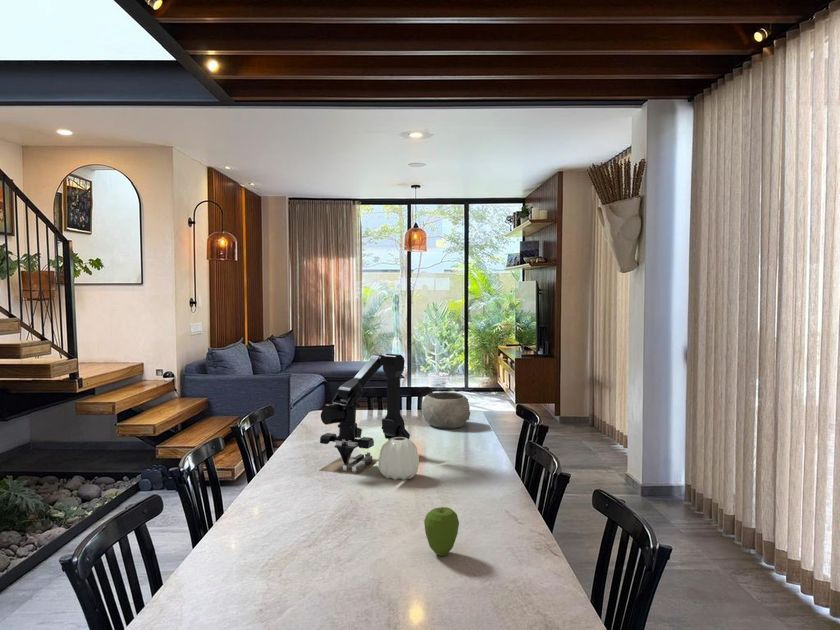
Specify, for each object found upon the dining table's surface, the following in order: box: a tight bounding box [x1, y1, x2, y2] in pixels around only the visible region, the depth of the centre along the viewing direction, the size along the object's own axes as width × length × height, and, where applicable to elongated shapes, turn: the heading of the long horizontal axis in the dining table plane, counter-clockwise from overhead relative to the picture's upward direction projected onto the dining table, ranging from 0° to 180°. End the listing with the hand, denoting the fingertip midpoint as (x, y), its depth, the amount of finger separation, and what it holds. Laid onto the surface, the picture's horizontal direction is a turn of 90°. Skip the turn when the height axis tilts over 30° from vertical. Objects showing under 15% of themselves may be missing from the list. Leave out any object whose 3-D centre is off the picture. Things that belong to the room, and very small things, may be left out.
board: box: [318, 456, 379, 476], centre depth 216 cm, size 15×20×1 cm
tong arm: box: [343, 453, 365, 471], centre depth 214 cm, size 2×14×2 cm, turn 161°
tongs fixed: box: [352, 451, 373, 473], centre depth 216 cm, size 4×18×3 cm, turn 163°
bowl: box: [421, 391, 471, 430], centre depth 286 cm, size 23×23×15 cm
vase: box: [378, 437, 420, 481], centre depth 205 cm, size 14×14×13 cm
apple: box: [423, 506, 460, 557], centre depth 144 cm, size 9×8×12 cm
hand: (346, 464), depth 212 cm, fingers closed
